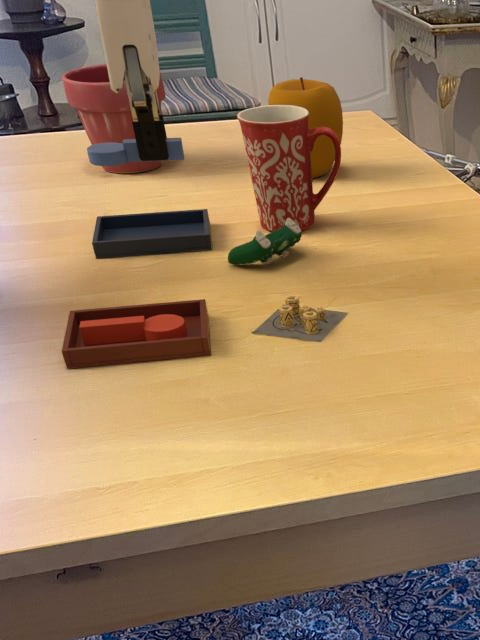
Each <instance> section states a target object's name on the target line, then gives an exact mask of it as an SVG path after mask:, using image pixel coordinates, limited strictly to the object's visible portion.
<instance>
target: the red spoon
mask: <svg viewBox="0 0 480 640" xmlns="http://www.w3.org/2000/svg"><path fill="white" fill-rule="evenodd" d="M79 328H80V331H81V335H82V338H83V342H84V345H85V346H86V345H97V344H108V343H119V342H129V341H140V340H147V341H152V340H163V339H174V338H184V337H185V336H186V335H187V330H186V325H185V321H184V319H183V318H182V317H180V316H178V315H172V314H163V315H156V316H153V317H150V318H148V319H146V320H145V317H144V316H134V317H123V318H112V319H100V320H89V321H81V322H80V327H79Z"/></svg>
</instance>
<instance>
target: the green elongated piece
mask: <svg viewBox="0 0 480 640" xmlns="http://www.w3.org/2000/svg"><path fill="white" fill-rule="evenodd" d="M302 236H303V230H302V231H301V229H300V228H299V226H297V225H296V223H295V222H294V221H293V220H292V219H290V218H287V220H286V223H284V225H283V227H282V228H279V229H276V230H274V231H273V232H270V233H267V234H265V233H264V232H263V231H261V230H257V231H256V232H255V236H254V237H253V238H252V240H250V241H247V242H245V243H243V244H240V245H237V246H235V247H233V248H232V249H230V251H229V252H228V255H227V261H228V263H229V264H231V265H233V266H245V265H252V264H256V263H258V262H261V263H262V264H265V265H267V266H269V265H271V264H272V263H273V261H274V259H273V256H274V255H277V256H279V257H281V258H285V257H287V256H288V255H289V253H290V252H289V251H288V250H289V248H292V247H294V246H295V245H296V244H298V243H299V242H300V241H301V239H302Z"/></svg>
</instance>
